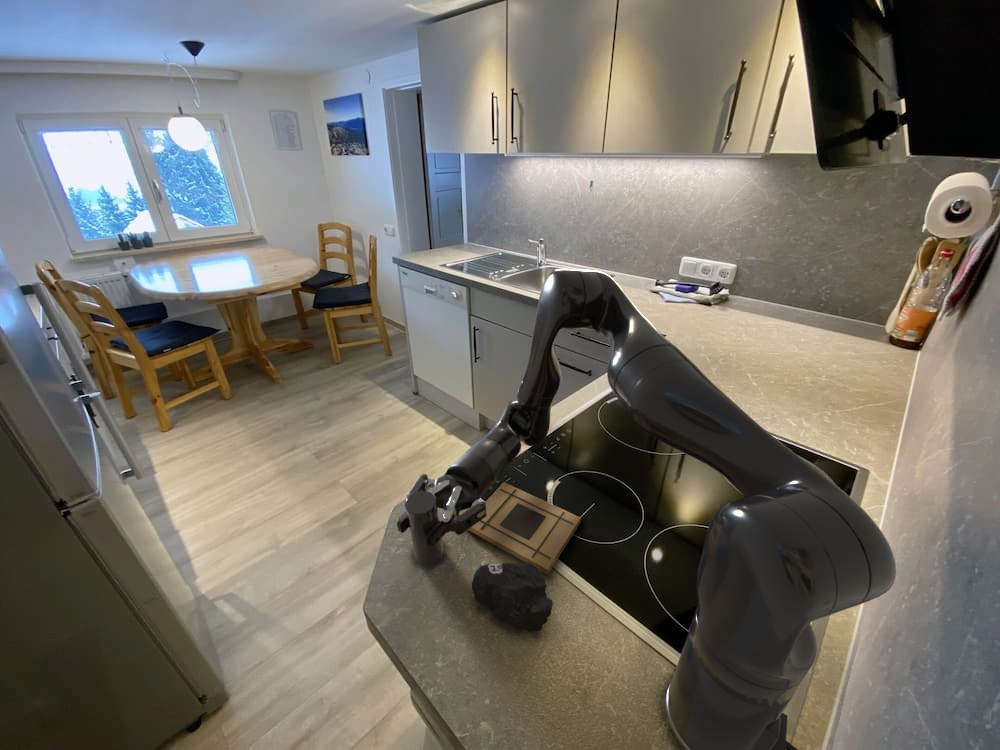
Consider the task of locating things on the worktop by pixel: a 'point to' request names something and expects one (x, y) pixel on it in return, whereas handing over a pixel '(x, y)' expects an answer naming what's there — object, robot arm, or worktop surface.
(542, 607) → the mineral
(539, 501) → the board
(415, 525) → the tall black cylinder
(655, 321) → the worktop surface
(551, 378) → the robot arm
